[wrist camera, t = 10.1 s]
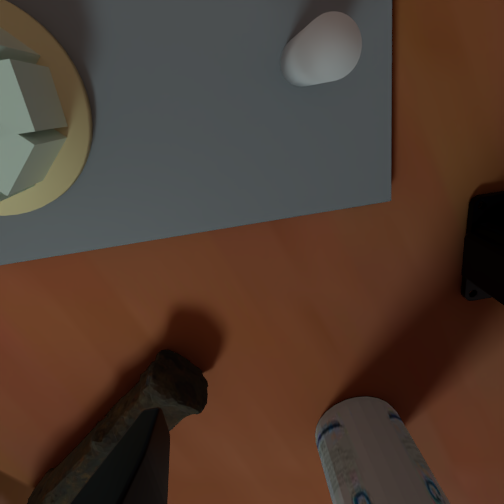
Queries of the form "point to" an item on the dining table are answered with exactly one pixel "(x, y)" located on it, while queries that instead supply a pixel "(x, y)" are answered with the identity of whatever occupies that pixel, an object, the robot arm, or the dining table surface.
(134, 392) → the hand tool
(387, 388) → the dining table surface
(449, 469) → the dining table surface
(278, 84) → the rod board
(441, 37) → the dining table surface
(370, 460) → the spray can
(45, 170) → the ring
